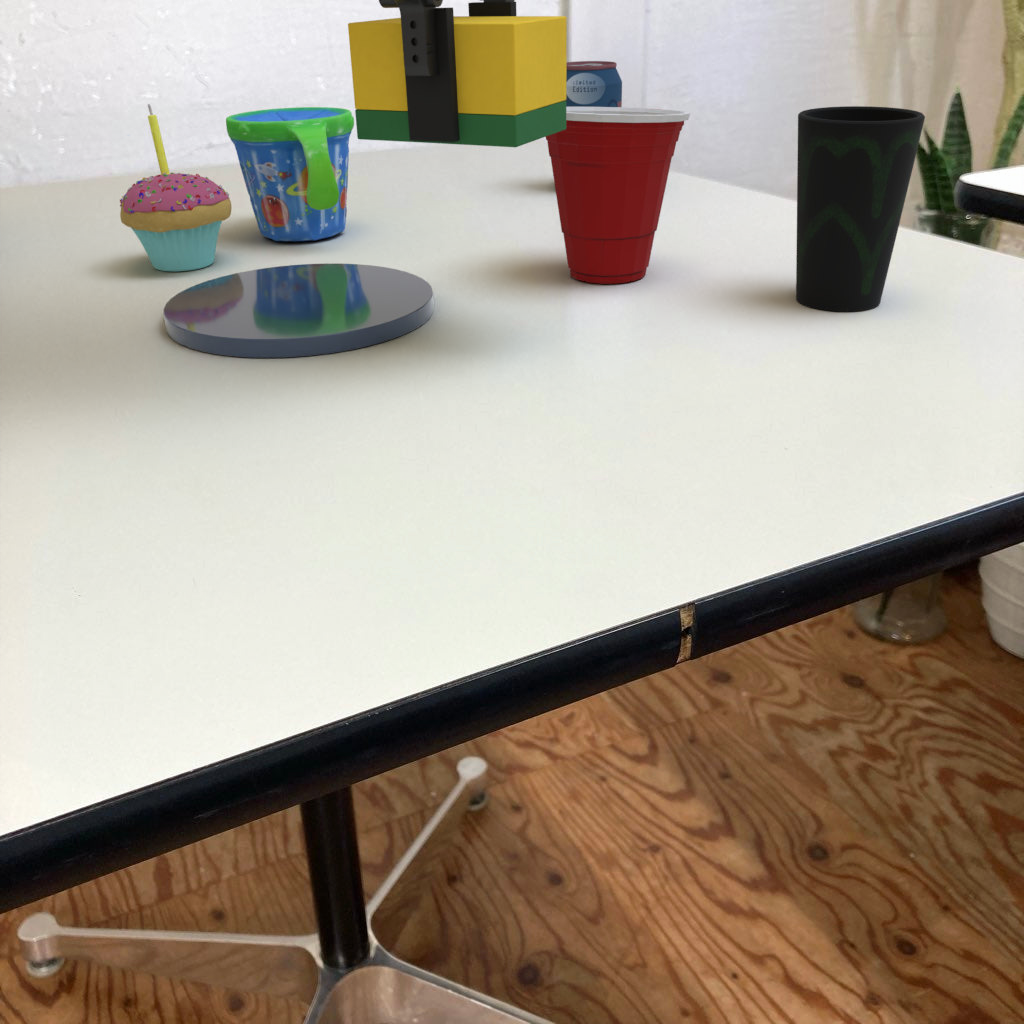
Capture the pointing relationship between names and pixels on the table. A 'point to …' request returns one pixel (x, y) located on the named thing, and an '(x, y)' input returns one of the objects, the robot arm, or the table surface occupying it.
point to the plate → (298, 310)
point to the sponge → (469, 79)
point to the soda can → (593, 84)
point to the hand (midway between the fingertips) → (466, 130)
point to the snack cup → (295, 169)
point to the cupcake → (175, 214)
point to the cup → (850, 201)
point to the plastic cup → (612, 187)
